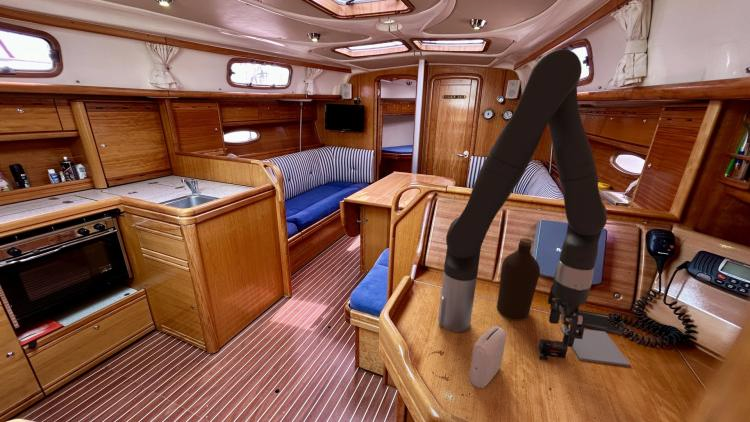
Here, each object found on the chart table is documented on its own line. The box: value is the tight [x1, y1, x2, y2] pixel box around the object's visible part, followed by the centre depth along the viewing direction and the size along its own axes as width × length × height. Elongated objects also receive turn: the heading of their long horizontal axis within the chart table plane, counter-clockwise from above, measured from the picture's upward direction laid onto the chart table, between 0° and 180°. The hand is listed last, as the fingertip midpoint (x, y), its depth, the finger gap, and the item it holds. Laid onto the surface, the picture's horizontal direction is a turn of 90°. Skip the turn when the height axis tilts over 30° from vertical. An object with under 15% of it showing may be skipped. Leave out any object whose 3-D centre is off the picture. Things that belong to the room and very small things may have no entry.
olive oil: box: [496, 237, 541, 321], centre depth 93 cm, size 11×11×25 cm
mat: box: [560, 326, 631, 367], centre depth 83 cm, size 12×12×1 cm
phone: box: [568, 309, 629, 336], centre depth 92 cm, size 8×1×15 cm
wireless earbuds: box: [537, 338, 569, 361], centre depth 79 cm, size 5×7×3 cm, turn 80°
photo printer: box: [468, 325, 507, 389], centre depth 72 cm, size 10×4×12 cm, turn 133°
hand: (559, 333), depth 78 cm, fingers open, 8 cm apart
